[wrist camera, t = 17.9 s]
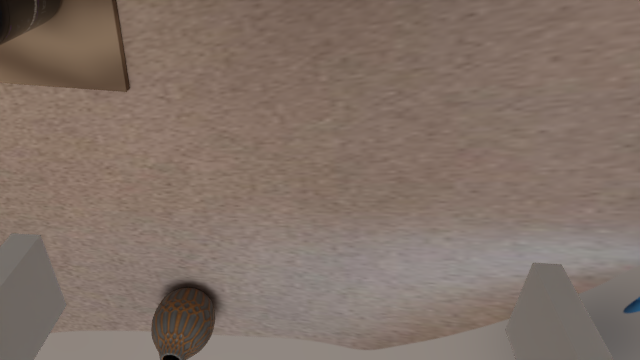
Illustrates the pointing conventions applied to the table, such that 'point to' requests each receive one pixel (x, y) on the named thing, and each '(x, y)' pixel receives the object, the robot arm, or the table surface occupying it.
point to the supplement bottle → (24, 16)
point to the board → (70, 50)
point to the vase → (182, 324)
